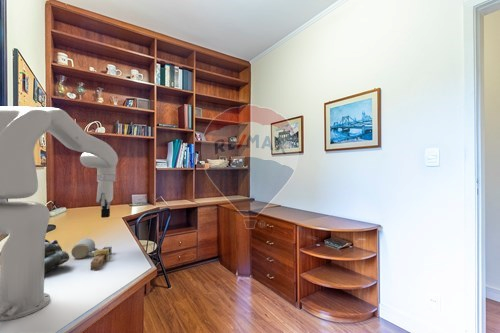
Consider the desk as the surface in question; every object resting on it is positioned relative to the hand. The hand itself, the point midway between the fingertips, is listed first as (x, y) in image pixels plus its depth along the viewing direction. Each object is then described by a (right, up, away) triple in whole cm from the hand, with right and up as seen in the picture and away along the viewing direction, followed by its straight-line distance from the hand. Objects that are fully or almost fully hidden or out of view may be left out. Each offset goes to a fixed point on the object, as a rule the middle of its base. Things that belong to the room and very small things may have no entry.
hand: (105, 217), depth 111 cm
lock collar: (+2, -19, -6) cm, 20 cm away
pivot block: (-1, -19, +3) cm, 19 cm away
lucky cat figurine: (-15, -19, -17) cm, 29 cm away
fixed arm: (+1, -19, -6) cm, 20 cm away
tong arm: (+3, -19, -7) cm, 20 cm away
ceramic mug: (-10, -19, +1) cm, 21 cm away
